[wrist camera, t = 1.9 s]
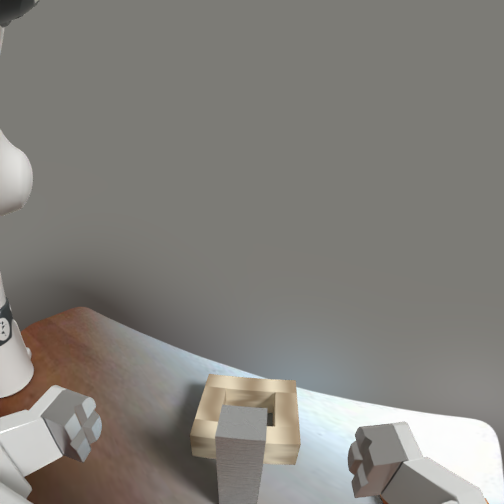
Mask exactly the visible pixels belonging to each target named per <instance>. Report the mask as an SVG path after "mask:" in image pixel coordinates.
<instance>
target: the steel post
mask: <svg viewBox="0 0 504 504" xmlns="http://www.w3.org/2000/svg"><path fill="white" fill-rule="evenodd" d="M266 431H267V408H255V407H243V406H232V405H222V408H221V412H220V417H219V421H218V425H217V430H216V434H215V444H216V463H217V478H218V493H219V504H257V500H258V494H259V487H260V481H261V474H262V467H263V460H264V452H265V445H266Z"/></svg>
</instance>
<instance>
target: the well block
mask: <svg viewBox="0 0 504 504" xmlns="http://www.w3.org/2000/svg"><path fill="white" fill-rule="evenodd" d="M222 405H232V406H243V407H255V408H267V413H272V414H273V425H272V426H267V431H266V445H265V452H264V460H263V464H289V465H295V463H296V460H297V456H298V452H299V448H300V445H301V444H300V430H299V417H298V404H297V392H296V381H295V380H272V379H258V378H244V377H233V376H223V375H214V374H209V376H208V379H207V382H206V385H205V388H204V392H203V395H202V398H201V401H200V404H199V407H198V410H197V414H196V417H195V420H194V423H193V426H192V429H191V432H190V441H191V448H192V455H193V456H197V457H203V458H210V459H216V444H215V434H216V430H217V425H218V421H219V417H220V412H221V408H222Z"/></svg>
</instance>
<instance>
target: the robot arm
mask: <svg viewBox="0 0 504 504" xmlns="http://www.w3.org/2000/svg"><path fill="white" fill-rule="evenodd" d="M38 2H39V0H0V53H1V47H2V41H3V34H4V27H6V26H8V25H9V23H10V22H11V20H14V19H16V18H19V17H21V16H23V15H24V14H25V13H27V12H28V11H29V10H31V9H32V8H33V7H35V6H36V5H37V3H38ZM32 184H33V173H32V167H31V164H30V162H29V160H28V158H27V156H26V155H25V154H24V153H23V152H22V151H21V150H19V149H18V148H16V147H15V146H13V145H12V144H11V143H10V142H9V141H8V140H7V139H6V137H5V136H4V134H3V133H2V131H1V129H0V217H1V216H4V215H6V214H9V213H12V212H14V211H17V210H19V209H22V208H23V206H24V205H25V203H26V202H27V200H28V198H29V196H30V193H31V189H32ZM30 359H31V351H30V349H29V348H26V347H25V344H24V342H23V339H22V336H21V334H20V331H19V328H18V326H17V323H16V321H15V320H13V317H12V313H11V307H10V305H9V302H8V299H7V297H5V293H4V288H3V283H2V278H1V272H0V398H2V397H6V396H9V395H12V394H14V393H16V392H18V391H20V390H21V389H22V388H24V387H25V386H26V385H27V384H28V383H29V381H30V380H31V378H32V376H33V372H34V368H33V364H32V362H31V360H30ZM95 407H96V405H95V402H94V399H92V398H90V397H88V396H85V395H82V394H79V393H76V392H73V391H71V390H68V389H65V388H62V387H60V386H57V385H54V386H52V387H51V388H50V389H49V390H48V391H47V392H46V393H45V394H44V395H43V396H42V397H41V398H40V399H39V400H38V401H37V402H36V404H35V405H34V406H33V407H32V408H31V409H30V410H29V411H27V410H23V411H20V412H17V413H14V414H10V415H7V416H4V417H1V418H0V504H33V503H31V502H30V501H28V500H27V499H26V498H27V497H28V495H29V494H30V492H31V491H32V488H31V485H30V484H29V483H28V482H27V481H26V479H25V478H24V477H25V476H27V475H29V474H31V473H32V472H34V471H36V470H38V469H40V468H42V467H44V466H46V465H47V464H49V463H51V462H53V461H55V460H56V459H58V458H60V457H62V456H63V455H64V456H67V457H69V458H72V459H74V460H77V461H80V462H82V463H83V462H84V461H85V459H86V457H87V456H88V454H89V452H90V451H91V446H90V444H91V443H93V442H95V441H97V439H98V438H99V436H100V433H101V429H102V424H101V419H100V416H99V415H98V414H97V413H96V412H95V411H94V409H95ZM355 437H356V441H355V442H354V443H352V444H351V446H350V449H349V453H348V467H349V471H350V472H351V473H352V474H354V475H355V476H354V478H353V480H352V487H353V492H354V497H355V498H359V497H368V496H375V495H381V497H382V498H383V499H384V500H385V501H386V502H387V503H388V504H487V502H486V500H485V498H484V496H483V494H482V492H481V490H480V488H478V487H476V486H475V485H473V484H471V483H470V482H468V481H466V480H464V479H463V478H461V477H459V476H458V475H456V474H454V473H453V472H451V471H449V470H448V469H446V468H444V467H443V466H441V465H440V464H438V463H436V462H435V461H433V460H432V459H430V458H428V457H425V458H423V456H422V453H421V451H420V449H419V447H418V445H417V442H416V440H415V438H414V436H413V434H412V432H411V430H410V427H409V425H408V423H406V422H399V423H391V424H382V425H374V426H363V427H359V428H358V429H357V431H356V434H355Z"/></svg>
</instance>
